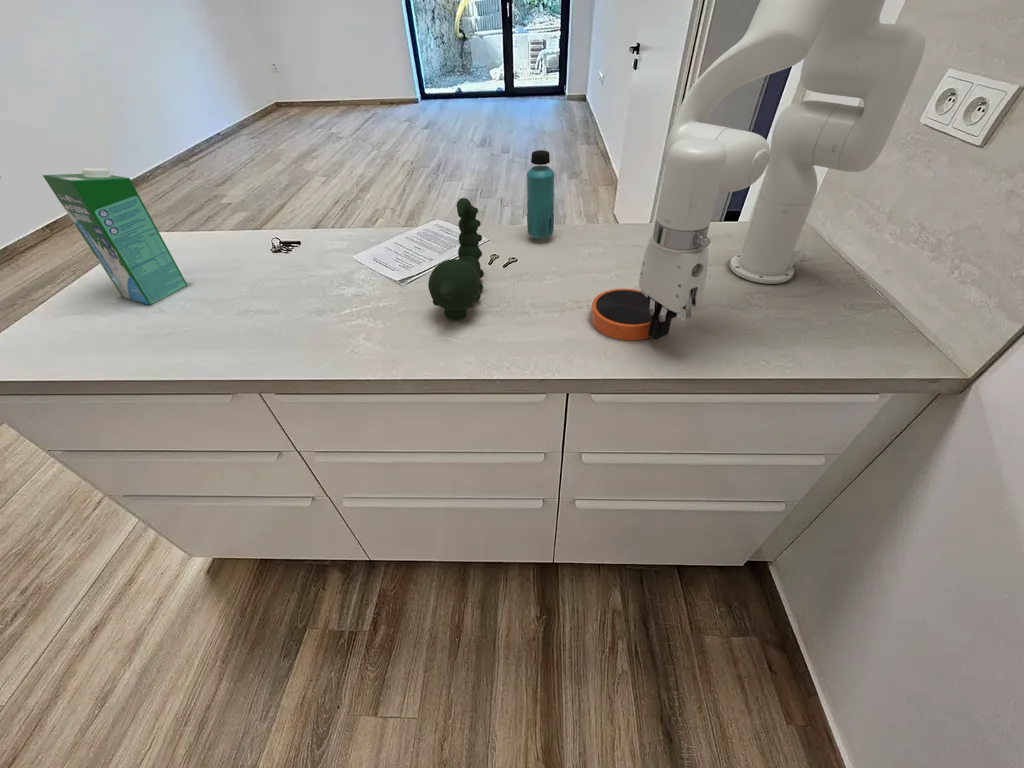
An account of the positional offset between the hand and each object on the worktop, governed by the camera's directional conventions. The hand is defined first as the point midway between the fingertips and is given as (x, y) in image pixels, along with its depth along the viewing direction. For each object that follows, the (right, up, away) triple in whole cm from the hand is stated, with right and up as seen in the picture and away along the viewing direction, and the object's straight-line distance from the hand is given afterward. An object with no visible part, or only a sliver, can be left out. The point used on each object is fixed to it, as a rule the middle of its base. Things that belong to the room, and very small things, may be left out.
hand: (657, 335), depth 82 cm
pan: (-1, +5, +8) cm, 10 cm away
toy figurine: (-35, +8, +14) cm, 39 cm away
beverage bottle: (-18, +27, +35) cm, 48 cm away
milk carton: (-102, +11, +21) cm, 105 cm away
